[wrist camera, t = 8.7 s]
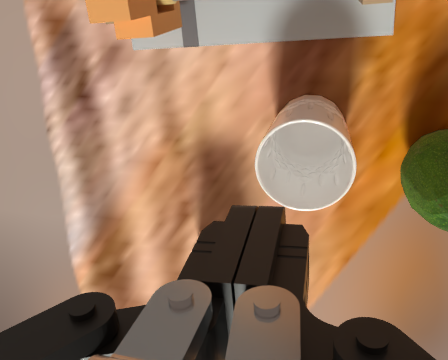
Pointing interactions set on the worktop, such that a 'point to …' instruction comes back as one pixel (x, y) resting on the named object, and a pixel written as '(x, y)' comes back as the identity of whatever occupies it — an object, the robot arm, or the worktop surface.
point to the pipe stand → (271, 21)
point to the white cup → (306, 155)
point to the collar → (135, 17)
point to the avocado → (428, 177)
